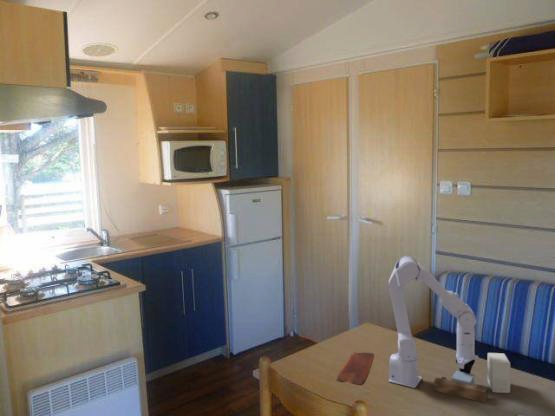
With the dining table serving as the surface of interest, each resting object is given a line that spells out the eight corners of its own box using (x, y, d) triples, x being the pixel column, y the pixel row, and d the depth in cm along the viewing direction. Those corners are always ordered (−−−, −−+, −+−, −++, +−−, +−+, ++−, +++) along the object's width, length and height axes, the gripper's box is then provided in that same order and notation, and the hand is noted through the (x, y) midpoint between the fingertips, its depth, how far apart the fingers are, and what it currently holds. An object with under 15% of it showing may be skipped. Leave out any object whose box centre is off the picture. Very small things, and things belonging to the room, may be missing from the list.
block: (451, 390, 165) (451, 377, 164) (456, 382, 170) (456, 370, 169) (470, 395, 162) (470, 382, 161) (474, 387, 166) (474, 374, 166)
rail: (434, 390, 166) (434, 380, 165) (437, 385, 169) (437, 375, 168) (484, 402, 157) (484, 392, 156) (487, 396, 160) (487, 386, 160)
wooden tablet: (363, 387, 171) (363, 382, 171) (335, 383, 175) (335, 378, 175) (377, 355, 196) (377, 351, 196) (352, 352, 200) (352, 348, 199)
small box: (510, 393, 161) (510, 363, 160) (492, 392, 162) (492, 362, 161) (504, 381, 169) (504, 352, 168) (487, 381, 170) (487, 352, 169)
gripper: (473, 352, 159) (472, 392, 161) (482, 336, 171) (482, 373, 173) (450, 348, 163) (450, 387, 165) (461, 333, 175) (461, 369, 177)
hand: (465, 379), depth 169 cm, fingers closed
